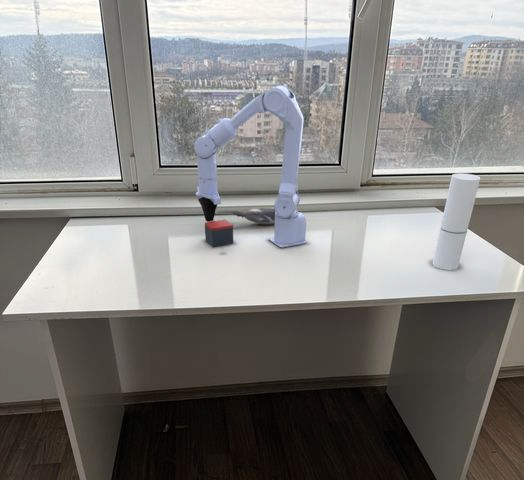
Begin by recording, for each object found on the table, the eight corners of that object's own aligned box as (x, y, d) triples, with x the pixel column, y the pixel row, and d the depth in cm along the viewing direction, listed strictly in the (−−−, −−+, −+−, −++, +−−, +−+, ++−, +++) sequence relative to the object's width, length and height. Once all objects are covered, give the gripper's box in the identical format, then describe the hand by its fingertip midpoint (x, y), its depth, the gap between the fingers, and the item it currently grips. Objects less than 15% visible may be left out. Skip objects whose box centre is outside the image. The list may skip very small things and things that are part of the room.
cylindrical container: (458, 262, 146) (480, 175, 132) (458, 271, 140) (480, 181, 127) (433, 258, 148) (452, 172, 134) (431, 267, 142) (451, 178, 128)
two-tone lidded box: (225, 237, 160) (225, 219, 156) (233, 243, 155) (233, 225, 152) (205, 240, 157) (204, 222, 154) (212, 247, 152) (212, 228, 149)
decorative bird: (291, 226, 170) (292, 211, 167) (219, 228, 167) (218, 214, 164) (287, 220, 175) (288, 206, 173) (217, 222, 172) (217, 208, 169)
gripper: (186, 173, 155) (189, 215, 163) (204, 184, 145) (206, 229, 152) (207, 171, 158) (209, 213, 166) (226, 182, 148) (227, 226, 155)
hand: (209, 220), depth 159 cm, fingers closed
